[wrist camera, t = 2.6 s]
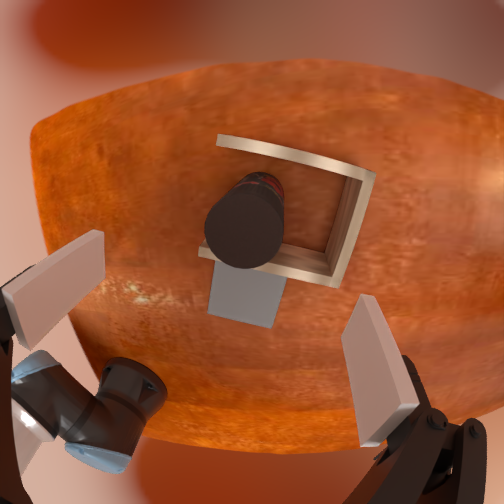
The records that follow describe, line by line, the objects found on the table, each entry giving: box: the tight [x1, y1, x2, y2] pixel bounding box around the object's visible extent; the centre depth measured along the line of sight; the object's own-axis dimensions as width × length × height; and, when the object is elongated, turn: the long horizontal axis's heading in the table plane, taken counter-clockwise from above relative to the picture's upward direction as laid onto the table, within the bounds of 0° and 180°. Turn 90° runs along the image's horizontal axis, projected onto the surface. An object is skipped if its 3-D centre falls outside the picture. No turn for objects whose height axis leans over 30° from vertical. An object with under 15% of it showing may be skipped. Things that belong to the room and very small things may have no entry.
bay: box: [198, 134, 376, 289], centre depth 31 cm, size 16×13×7 cm
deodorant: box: [204, 172, 284, 269], centre depth 28 cm, size 6×6×15 cm
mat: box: [207, 260, 287, 329], centre depth 40 cm, size 10×10×1 cm
